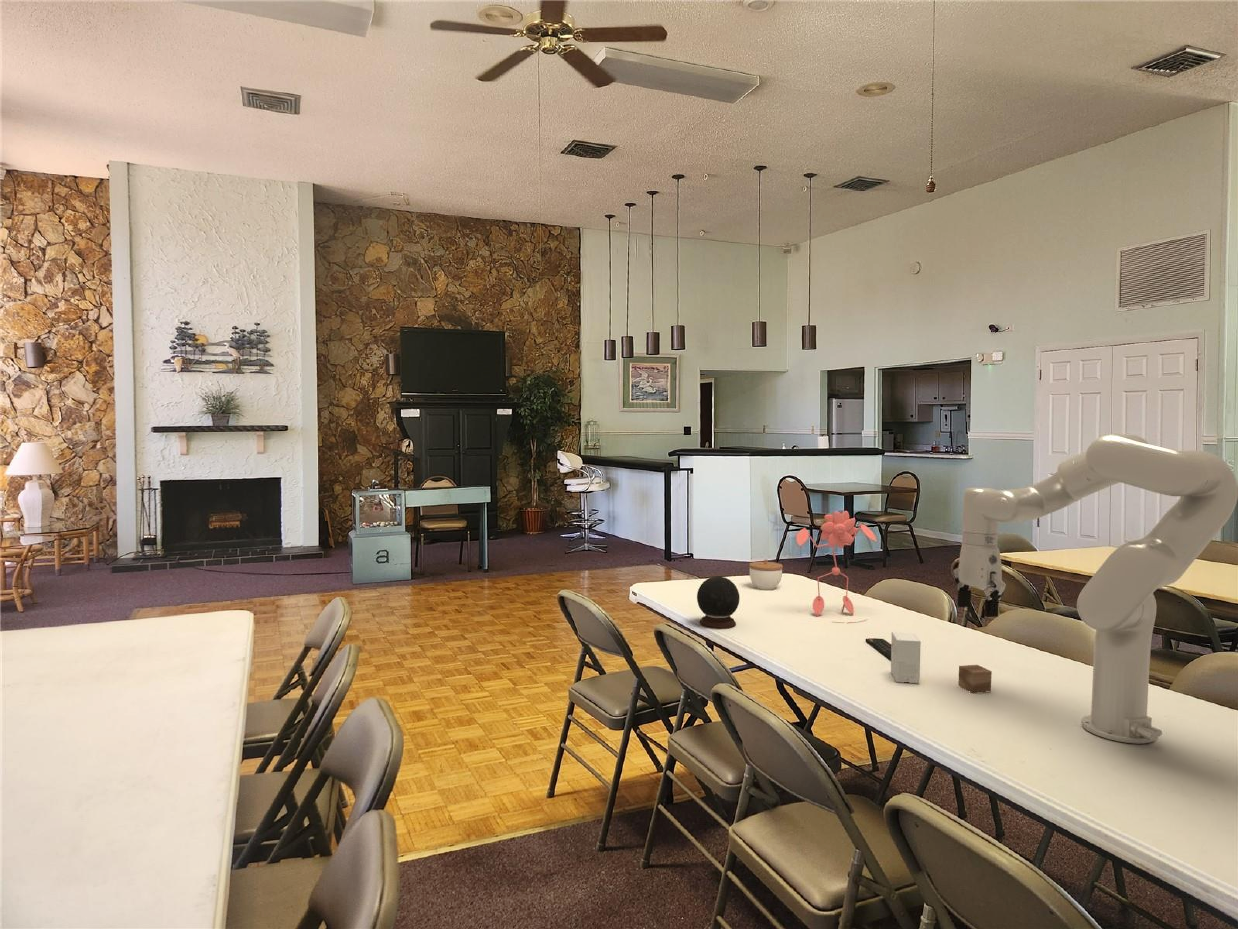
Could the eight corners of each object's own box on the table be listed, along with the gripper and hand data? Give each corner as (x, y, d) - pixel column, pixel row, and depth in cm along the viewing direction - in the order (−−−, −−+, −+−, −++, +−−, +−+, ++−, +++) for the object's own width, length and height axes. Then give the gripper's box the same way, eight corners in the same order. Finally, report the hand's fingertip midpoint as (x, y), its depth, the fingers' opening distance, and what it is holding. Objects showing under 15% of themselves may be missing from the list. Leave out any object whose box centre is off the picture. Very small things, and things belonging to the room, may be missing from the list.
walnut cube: (990, 692, 177) (991, 671, 177) (972, 693, 176) (973, 672, 176) (976, 685, 182) (977, 664, 182) (958, 686, 181) (959, 665, 181)
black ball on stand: (699, 630, 228) (700, 580, 228) (693, 618, 241) (694, 572, 241) (742, 630, 229) (743, 581, 228) (734, 619, 242) (735, 572, 241)
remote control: (898, 669, 195) (899, 664, 195) (864, 643, 219) (864, 638, 218) (919, 669, 195) (919, 664, 195) (882, 643, 219) (882, 638, 219)
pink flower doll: (790, 611, 252) (794, 507, 250) (864, 611, 255) (869, 508, 252) (805, 624, 237) (810, 514, 234) (884, 624, 239) (889, 514, 237)
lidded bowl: (763, 583, 298) (763, 555, 298) (788, 588, 289) (789, 560, 288) (741, 587, 290) (742, 558, 290) (767, 593, 281) (768, 563, 280)
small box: (919, 684, 182) (921, 641, 181) (895, 682, 183) (896, 639, 183) (913, 673, 190) (915, 632, 189) (890, 672, 191) (891, 631, 190)
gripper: (1019, 545, 170) (1016, 620, 171) (970, 534, 187) (967, 602, 188) (990, 545, 169) (987, 621, 170) (942, 535, 186) (940, 603, 187)
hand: (977, 611), depth 179 cm, fingers open, 9 cm apart
